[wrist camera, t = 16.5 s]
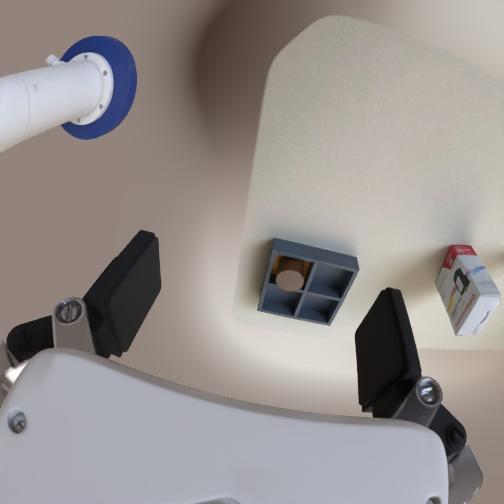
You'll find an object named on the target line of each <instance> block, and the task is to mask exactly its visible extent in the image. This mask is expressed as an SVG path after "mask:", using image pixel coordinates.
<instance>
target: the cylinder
mask: <svg viewBox="0 0 504 504" xmlns="http://www.w3.org/2000/svg"><path fill="white" fill-rule="evenodd" d="M304 270H305V262H304V260H301V259H296V258H292V257H288V256H282V257H281V258H280V259H279V261H278V268H277V274H276V284H277V285H278V287H279V288H281V289H282V290H285V291H296V290H298V289H300V288H301V287H302V286H303V284H304Z"/></svg>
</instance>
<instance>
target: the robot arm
mask: <svg viewBox="0 0 504 504" xmlns="http://www.w3.org/2000/svg"><path fill="white" fill-rule="evenodd" d="M46 64H47V65H48V66H49V67H44V68H38V69H34V70H29V71H24V72H20V73H16V74H12V75H8V76H5V77H2V78H0V153H1V152H2V151H4V150H6V149H8V148H10V147H11V146H14V145H16V144H18V143H20V142H22V141H24V140H26V139H28V138H30V137H32V136H35V135H37V134H39V133H41V132H44V131H46V130H48V129H51V128H53V127H56V126H58V125H61V124H63V123H66V122H69V121H70V122H72V123H74V124H77V125H86V124H89V123H91V122H94V121H96V120H97V119H98V118H100V117H101V116H102V115H103V113H104V112H105V111H106V109H107V108H108V106H109V103H110V101H111V98H112V94H113V88H114V78H113V72H112V69H111V67H110V65H109V63H108V61H107V60H106V59H105V58H104V57H103V56H101V55H100V54H97V53H92V52H88V53H82V54H79V55H77V56H75V57H74V58H72V59H71V60H70V61H69V62H66V63H65V62H64V61H59V59H57V58H56V57H55V56H54V55H50V56H49V57H48V58H47V59H46ZM160 290H161V275H160V260H159V244H158V238H157V237H155V234H154V233H152V232H148V231H144V230H140V231H139V232H138V233H137V235H135V237H134V238H133V239H132V240H131V242H129V244H128V245H127V246H126V247H125V248H124V250H123V251H122V252H121V253H120V254H119V255H118V256H117V257H115V258H114V259H113V260H112V262H111V263H110V264H109V265H108V266H107V268H106V269H105V270H104V272H103V273H102V274H101V275H100V276H99V278H98V279H97V280H96V282H95V283H94V284H93V285H92V287H91V288H90V289H89V291H88V292H87V293H86V295H85V296H84V297H83V299H80V298H78V297H67V298H64V299H62V300H61V301H59V302H58V303H57V304H56V305H55V306H54V308H53V311H52V315H50V316H47V317H43V318H40V319H37V320H34V321H30V322H27V323H24V324H20V325H18V326H16V327H14V328H13V329H12V330H11V331H10V333H9V334H8V337H7V342H5V343H4V342H3V341H1V342H0V504H467V503H468V501H470V499H471V498H472V497H473V496H474V495H475V494H476V493H477V491H478V490H479V489H480V487H481V486H482V482H483V475H482V472H481V470H480V467H479V466H478V464H477V461H476V459H475V457H474V455H473V453H472V451H471V449H470V448H469V446H465V443H466V438H467V436H466V431H465V428H464V427H463V425H462V424H461V423H460V422H459V421H458V420H457V419H456V418H455V417H454V416H453V415H452V414H451V413H450V412H449V411H448V410H447V409H446V408H445V407H444V406H443V405H442V404H441V401H442V390H441V387H440V385H439V384H438V383H437V382H436V380H434V379H433V378H431V377H422V375H421V372H422V371H421V367H420V362H419V357H418V353H417V348H416V344H415V340H414V336H413V332H412V328H411V324H410V321H409V317H408V314H407V310H406V307H405V303H404V300H403V297H402V293H401V291H400V290H398V289H393V288H389V287H388V288H386V289H385V290H382V291H381V292H380V294H379V295H378V297H377V299H376V300H375V302H374V304H373V305H372V307H371V308H370V310H369V312H368V313H367V315H366V316H365V318H364V319H363V321H362V322H361V324H360V325H359V327H358V328H357V330H356V333H355V345H356V358H357V373H358V396H359V404H360V405H362V412H372V413H373V418H368V417H353V416H340V415H330V414H320V413H312V412H304V411H297V410H290V409H284V408H278V407H272V406H266V405H261V404H256V403H251V402H247V401H242V400H237V399H233V398H229V397H225V396H220V395H217V394H212V393H209V392H205V391H201V390H198V389H194V388H191V387H187V386H184V385H181V384H177V383H174V382H171V381H168V380H165V379H162V378H159V377H156V376H153V375H150V374H147V373H145V372H142V371H138V370H136V369H133V368H131V367H128V366H125V365H122V364H120V363H117V362H115V361H112V360H110V359H108V358H109V357H110V355H111V354H112V355H115V356H117V357H121V355H122V353H123V352H127V351H128V349H129V347H130V345H131V343H132V341H133V340H134V338H135V336H136V334H137V332H138V330H139V328H140V326H141V325H142V323H143V321H144V319H145V317H146V316H147V314H148V312H149V310H150V308H151V307H152V305H153V303H154V301H155V299H156V298H157V296H158V294H159V292H160Z"/></svg>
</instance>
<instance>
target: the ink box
mask: <svg viewBox="0 0 504 504" xmlns="http://www.w3.org/2000/svg"><path fill="white" fill-rule="evenodd" d="M436 287H437V289H438V291H439V294H440V296H441V299H442V301H443V303H444V306H445V308H446V311H447V313H448V316H449V318H450V321H451V324H452V327H453V329H454V332H455V335H456V336H461V335H475V334H478V333H479V332H480V331H481V329H482V328H483V326H484V325H485V323H486V322H487V320H488V319H489V317H490V316H491V314H492V312H493V311H494V309H495V308H496V306H497V304H498V303H499V301H500V297H501V293H500V291H499V290H498V288H497V286H496V284H495V283H494V281H493V279H492V278H491V276H490V274H489V273H488V271H487V270H486V268H485V266H484V265H483V263H482V262H481V260H480V259H479V257H478V256H477V254H476V253H475V251H474V250H473V248H472V247H471V246H464V245H451V246H450V249H449V252H448V254H447V257H446V259H445V262H444V265H443V267H442V270H441V272H440V275H439V277H438V279H437V282H436Z"/></svg>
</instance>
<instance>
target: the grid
mask: <svg viewBox="0 0 504 504" xmlns="http://www.w3.org/2000/svg"><path fill="white" fill-rule="evenodd" d="M282 256H288V257H292V258H296V259H301V260H304V262H305V270H304V284H303V286H302V287H301V288H300V289H298V290H296V291H285V290H282V289H281V288H279V287H278V285H277V284H276V274H277V268H278V261H279V259H280V258H281V257H282ZM358 271H359V266H358V261H357V258H356V257H352V256H348V255H344V254H340V253H336V252H332V251H328V250H324V249H319V248H315V247H311V246H307V245H303V244H298V243H294V242H290V241H286V240H281V239H277V238H275V239H274V243H273V247H272V251H271V255H270V259H269V263H268V268H267V272H266V276H265V280H264V284H263V287H262V291H261V295H260V299H259V304H258V309H257V311H261V312H265V313H270V314H274V315H279V316H284V317H288V318H293V319H298V320H303V321H308V322H313V323H318V324H323V325H328V326H330V325H331V323H332V321H333V319H334V318H335V316H336V314H337V312H338V310H339V308H340V307H341V305H342V303H343V301H344V299H345V297H346V295H347V293H348V291H349V289H350V287H351V286H352V284H353V282H354V280H355V278H356V276H357V273H358Z"/></svg>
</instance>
